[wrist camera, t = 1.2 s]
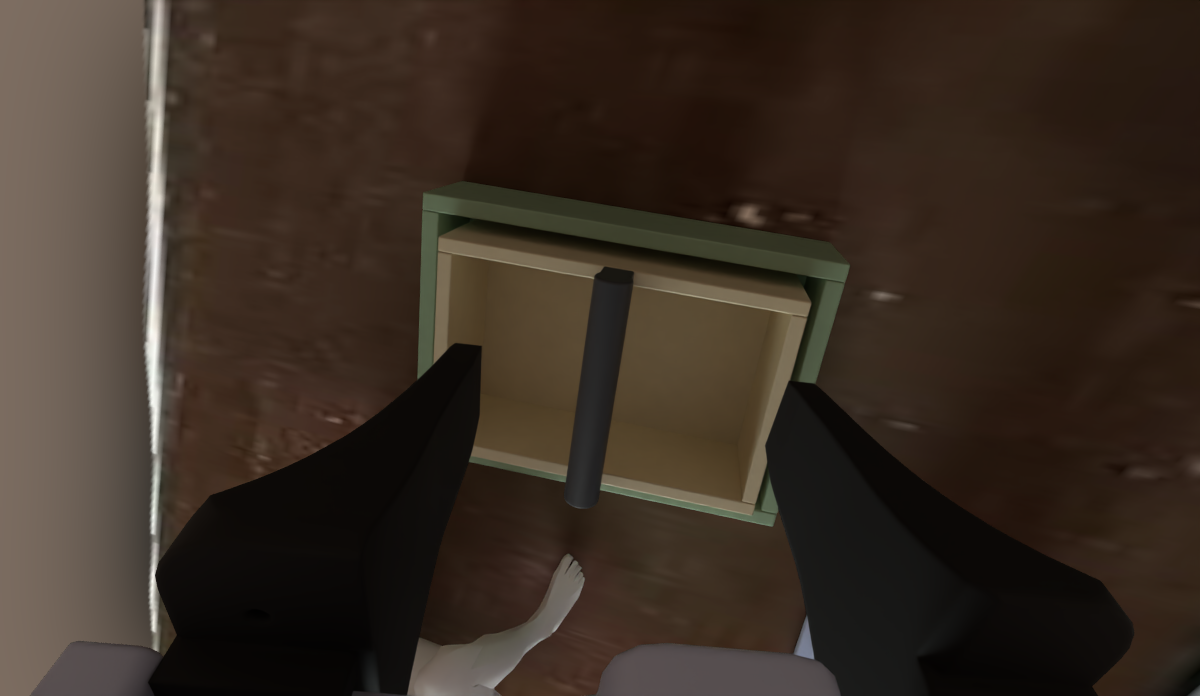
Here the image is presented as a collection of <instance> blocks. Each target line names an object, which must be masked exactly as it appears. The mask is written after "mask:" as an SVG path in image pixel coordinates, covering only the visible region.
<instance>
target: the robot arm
mask: <svg viewBox="0 0 1200 696" xmlns="http://www.w3.org/2000/svg"><path fill="white" fill-rule="evenodd" d="M481 358H482V346H479V345H471V344H462V343H454V344H453V345H451V346H450V347H449V348H448V349H447V350H446V351H445V353H444V354H443V355H442V356H441V357H440V358H439V359H438V360H437V361H436V362H435V363H434V364H433V365H432V366H431V367H430V368H429V369H428V370H427V371H426V372H425V373H424V374H423V375H422V376H421V377H420V378H419V379H418V380H417V381H415V382H414V383H413V384H412V385H411V386H410V387H409V388H408V389H407V390H406V391H405V392H403V393H402V394H401V395H400V396H399V397H397V398H396V399H395V400H394V401H393V402H391V403H390V404H389V405H388V406H386V407H385V408H384V409H383V410H382V411H380V412H379V413H378V414H376V415H375V416H374V417H372V418H371V419H370V420H368V421H367V422H365V423H364V424H363V425H361V426H360V427H358V428H357V429H355V430H354V431H352V432H351V433H349V434H348V435H346V436H344V437H343V438H341V439H339V440H337V441H335V442H334V443H332V444H330V445H328V446H326V447H325V448H323V449H321V450H319V451H317V452H316V453H314V454H312V455H310V456H308V457H306V458H304V459H302V460H300V461H298V462H295V463H293V464H291V465H289V466H287V467H285V468H282V469H280V470H278V471H275V472H273V473H271V474H268V475H266V476H263V477H261V478H258V479H256V480H253V481H250V482H247V483H245V484H242V485H239V486H236V487H233V488H231V489H228V490H225V491H222V492H219V493H216V494H213V495H210V497H209V498H208V499H207V500H206V501H205V503H204V504H203V505H202V506H201V507H200V508H199V509H198V510H197V511H196V513H195V514H194V515H193V516H192V517H191V519H190V520H189V521H188V523H187V524H186V525H185V527H184V528H183V529H182V531H181V532H180V534H179V535H178V536H177V538H176V539H175V541H174V542H173V543H172V545H171V546H170V548H169V549H168V550H167V552H166V553H165V555H164V556H163V557H162V559H161V560H160V561H159V563H158V567H157V570H156V574H155V577H156V582H157V587H158V591H159V593H160V595H161V598H162V600H163V603H164V605H165V607H166V610H167V612H168V615H169V617H170V619H171V622H172V624H173V627H174V629H175V631H176V634H177V636H176V638H175V639H174V641H173V643H172V644H171V646H170V647H169V649H168V651H167V652H166V654H165V655H164V657H163V656H162V655H161V654H160V653H159V652H157V651H155V650H153V649H151V648H147V647H142V646H135V645H123V644H110V643H98V642H85V641H76V642H72V643H70V644H69V645H68V647H67V648H66V649H65V650H64V652H63V653H62V654H61V656H60V657H59V658H58V660H57V661H56V662H55V663H54V665H53V666H52V667H51V669H50V670H49V671H48V673H47V674H46V675H45V676H44V678H43V679H42V680H41V682H40V683H39V684H38V686H37V687H36V688H35V690H34V691H33V692H32V693H31V695H30V696H410V695H407V693H408V688H409V683H410V678H411V673H412V668H413V664H414V659H415V654H416V650H417V645H418V640H419V635H420V631H421V626H422V622H423V617H424V613H425V608H426V604H427V599H428V595H429V590H430V586H431V582H432V577H433V573H434V569H435V565H436V560H437V556H438V552H439V548H440V545H441V541H442V538H443V535H444V531H445V528H446V525H447V523H448V520H449V517H450V514H451V511H452V508H453V505H454V503H455V500H456V497H457V494H458V491H459V488H460V486H461V483H462V480H463V477H464V474H465V471H466V468H467V465H468V462H469V459H470V457H471V454H472V450H473V445H474V441H475V436H476V431H477V426H478V421H479V417H480V392H481ZM765 449H766V456H767V464H768V470H769V476H770V482H771V486H772V489H773V493H774V496H775V499H776V503H777V506H778V509H779V512H780V516H781V519H782V522H783V525H784V528H785V532H786V535H787V538H788V541H789V544H790V548H791V551H792V554H793V557H794V560H795V564H796V567H797V571H798V575H799V579H800V583H801V587H802V593H803V598H804V603H805V608H806V613H807V615H806V618H805V621H804V624H803V627H802V630H801V633H800V636H799V639H798V642H797V644H796V647H795V650H794V653H793V654H788V653H777V652H765V651H753V650H742V649H730V648H719V647H707V646H696V645H684V644H672V643H661V644H645V645H639V646H636V647H634V648H632V649H629V650H627V651H624V652H622V653H620V654H618V655H617V656H615V657H614V658H613V659H612V661H611V662H610V663H609V665H608V666H607V667H606V669H605V670H604V671H603V673H602V677H601V681H600V685H599V689H598V692H597V694H596V695H588V696H1098V695H1097V694H1096V692H1095V691H1094V689H1093V687H1092V686H1093V685H1094V684H1095V683H1096V682H1097V681H1098V680H1099V679H1100V678H1101V677H1102V676H1103V675H1104V674H1106V673H1107V672H1108V671H1109V670H1110V669H1111V668H1112V667H1113V666H1114V665H1115V664H1116V663H1117V662H1118V661H1119V660H1120V659H1121V658H1122V657H1123V655H1124V654H1125V653H1126V652H1127V650H1128V649H1129V648H1130V645H1131V642H1132V639H1133V636H1134V629H1133V624H1132V622H1131V620H1130V619H1129V618H1128V616H1127V615H1126V614H1125V612H1124V611H1123V610H1122V608H1121V607H1120V606H1119V604H1118V603H1117V602H1116V600H1115V599H1114V598H1113V596H1112V595H1111V594H1110V592H1109V591H1108V590H1107V588H1106V587H1105V586H1104V584H1103V583H1102V582H1101V581H1100V580H1098V579H1095V578H1093V577H1091V576H1089V575H1087V574H1085V573H1082V572H1080V571H1078V570H1076V569H1074V568H1072V567H1069V566H1067V565H1065V564H1063V563H1061V562H1059V561H1056V560H1054V559H1052V558H1050V557H1048V556H1046V555H1044V554H1042V553H1040V552H1038V551H1036V550H1034V549H1032V548H1030V547H1028V546H1027V545H1025V544H1023V543H1021V542H1019V541H1017V540H1015V539H1013V538H1011V537H1010V536H1008V535H1006V534H1004V533H1003V532H1001V531H999V530H997V529H996V528H994V527H992V526H990V525H989V524H987V523H986V522H984V521H982V520H981V519H979V518H978V517H976V516H974V515H973V514H971V513H969V512H968V511H966V510H965V509H963V508H961V507H960V506H958V505H957V504H955V503H954V502H953V501H951V500H950V499H948V498H947V497H945V496H944V495H942V494H941V493H940V492H938V491H937V490H936V489H934V488H933V487H931V486H930V485H929V484H927V483H926V482H925V481H923V480H922V479H920V478H919V477H918V476H917V475H915V474H914V473H913V472H911V471H910V470H909V469H908V468H907V467H905V466H904V465H903V464H902V463H901V462H899V461H898V460H897V459H896V458H895V457H893V456H892V455H891V454H890V453H889V452H888V451H886V450H885V449H884V448H883V447H882V446H881V445H880V444H879V443H877V442H876V441H875V440H874V439H873V438H872V437H871V436H870V435H869V434H868V433H867V432H865V431H864V430H863V429H862V428H861V427H860V426H859V425H858V424H857V423H856V422H855V421H854V420H853V419H852V418H851V417H850V416H849V415H848V414H847V413H846V412H845V411H843V410H842V409H841V408H840V407H839V406H838V405H837V404H836V403H835V402H834V401H833V400H832V399H831V398H830V397H829V396H828V395H827V394H826V393H825V392H823V391H822V390H821V389H820V388H819V387H818V386H817V385H815V384H814V383H806V382H798V381H788V384H787V386H786V389H785V392H784V395H783V397H782V400H781V403H780V406H779V408H778V411H777V414H776V417H775V419H774V422H773V425H772V428H771V430H770V433H769V436H768V439H767V441H766V444H765Z"/></svg>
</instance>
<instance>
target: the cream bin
mask: <svg viewBox="0 0 1200 696" xmlns="http://www.w3.org/2000/svg"><path fill="white" fill-rule="evenodd" d="M438 251H439V252H438V264H437V289H436V314H435V339H434V363H435V362H436V361H437V360H438V359H439V358H440V357H441V356H442V355H443V354H444V353H445V351H446V350H447V349H448V348H449V347H450V346H451V345H453V344H454V343H462V344H471V345H479V346H482V358H481V392H480V417H479V421H478V426H477V431H476V436H475V441H474V445H473V450H472V454H471V456H474V457H478V458H483V459H488V460H492V461H497V462H502V463H506V464H511V465H516V466H521V467H525V468H530V469H535V470H539V471H544V472H549V473H553V474H558V475H563V476H567V477H566V484H565V491H564V498H565V500H566V502H567V503H568V504H570V505H571V506H573V507H576V508H582V509H585V508H591V507H593V506H594V505H596V503H597V502H598V499H599V493H600V486H601V484H605V485H610V486H615V487H619V488H624V489H629V490H633V491H638V492H643V493H648V494H652V495H657V496H662V497H666V498H671V499H676V500H680V501H685V502H690V503H695V504H699V505H704V506H709V507H713V508H718V509H723V510H727V511H732V512H737V513H742V514H746V515H753V512H754V508H755V503H756V501H757V498H758V494H759V490H760V487H761V483H762V480H763V476H764V472H765V469H766V465H767V456H766V449H765V444H766V441H767V439H768V436H769V433H770V430H771V428H772V425H773V422H774V419H775V417H776V414H777V411H778V408H779V406H780V403H781V400H782V397H783V395H784V392H785V389H786V386H787V384H788V381H790V379H791V375H792V372H793V368H794V364H795V361H796V357H797V354H798V350H799V346H800V343H801V339H802V336H803V332H804V328H805V325H806V321H807V316H808V314H809V310H810V307H811V301H810V299H809V297H808V295H807V293H806V291H805V290H804V288H803V286H802V284H801V282H800V280H799V278H798V276H797V274H793V273H788V272H782V271H776V270H770V269H764V268H759V267H753V266H747V265H741V264H735V263H730V262H724V261H718V260H712V259H706V258H701V257H695V256H689V255H683V254H677V253H672V252H666V251H660V250H654V249H648V248H643V247H637V246H631V245H625V244H619V243H614V242H608V241H602V240H596V239H591V238H585V237H579V236H573V235H567V234H562V233H556V232H550V231H544V230H538V229H533V228H527V227H521V226H515V225H509V224H504V223H498V222H492V221H486V220H480V219H475V220H473V221H471V222H469V223H467V224H465V225H463V226H460V227H458V228H456V229H454V230H452V231H450V232H448V233H446V234H443V235H441V236H439V239H438Z"/></svg>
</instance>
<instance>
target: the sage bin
mask: <svg viewBox="0 0 1200 696" xmlns="http://www.w3.org/2000/svg"><path fill="white" fill-rule="evenodd" d="M423 209H424V210H423V212H422V245H421V279H420V312H419V346H418V379H419V378H420V377H421V376H422V375H423V374H424V373H425V372H426V371H427V370H428V369H429V368H430V367H431V366H432V365H433V364H434V339H435V314H436V289H437V264H438V252H439V251H438V239H439V236H441V235H443V234H446V233H448V232H450V231H452V230H454V229H456V228H458V227H460V226H463V225H465V224H467V223H469V222H471V221H473V220H475V219H480V220H486V221H492V222H498V223H504V224H509V225H515V226H521V227H527V228H533V229H538V230H544V231H550V232H556V233H562V234H567V235H573V236H579V237H585V238H591V239H596V240H602V241H608V242H614V243H619V244H625V245H631V246H637V247H643V248H648V249H654V250H660V251H666V252H672V253H677V254H683V255H689V256H695V257H701V258H706V259H712V260H718V261H724V262H730V263H735V264H741V265H747V266H753V267H759V268H764V269H770V270H776V271H782V272H788V273H793V274H797V276H798V278H799V280H800V282H801V284H802V286H803V288H804V290H805V291H806V293H807V295H808V297H809V299H810V301H811V307H810V310H809V314H808V316H807V321H806V325H805V328H804V332H803V336H802V339H801V343H800V346H799V350H798V354H797V357H796V361H795V364H794V368H793V372H792V375H791V379H790V381H798V382H806V383H814V384H815V383H816V380H817V376H818V373H819V370H820V366H821V363H822V359H823V356H824V353H825V349H826V346H827V342H828V339H829V336H830V332H831V329H832V326H833V322H834V319H835V315H836V312H837V309H838V305H839V302H840V298H841V295H842V292H843V288H844V285H845V283H844V282H845V281H846V278H847V275H848V272H849V268H850V264H849V263H848V262H847V261H846V260H845V259H844V257H843V256H842V255H841V254H840V253H839V252H838V251H837V250H836V249H835V247H834V246H833V245H832V244H831V243H830V242H825V241H819V240H813V239H807V238H801V237H795V236H789V235H783V234H777V233H771V232H765V231H759V230H753V229H747V228H741V227H735V226H729V225H723V224H717V223H711V222H705V221H699V220H693V219H687V218H681V217H675V216H669V215H663V214H657V213H651V212H645V211H639V210H633V209H627V208H621V207H615V206H609V205H603V204H597V203H591V202H585V201H579V200H573V199H567V198H561V197H555V196H549V195H543V194H537V193H531V192H525V191H519V190H513V189H507V188H501V187H495V186H489V185H483V184H477V183H471V182H465V181H461V182H458V183H454V184H451V185H447V186H444V187H440V188H437V189H433V190H430V191H427V192H423ZM418 379H417V380H418ZM469 462H473V463H477V464H482V465H487V466H491V467H496V468H501V469H505V470H510V471H515V472H520V473H524V474H529V475H534V476H538V477H543V478H548V479H552V480H557V481H562V482H566V477H567V476H563V475H558V474H553V473H549V472H544V471H539V470H535V469H530V468H525V467H521V466H516V465H511V464H506V463H502V462H497V461H492V460H488V459H483V458H478V457H474V456H471V457H470V459H469ZM600 490H604V491H608V492H613V493H618V494H622V495H627V496H632V497H637V498H641V499H646V500H651V501H655V502H660V503H665V504H669V505H674V506H679V507H683V508H688V509H693V510H697V511H702V512H707V513H711V514H716V515H721V516H725V517H730V518H735V519H739V520H744V521H749V522H753V523H758V524H763V525H768V526H773V525H774V522H775V518H776V513H777V512H778V506H777V503H776V499H775V496H774V493H773V489H772V486H771V482H770V476H769V470H768V464H767V465H766V469H765V472H764V476H763V480H762V483H761V487H760V490H759V494H758V498H757V501H756V503H755V508H754V512H753V515H746V514H742V513H737V512H732V511H727V510H723V509H718V508H713V507H709V506H704V505H699V504H695V503H690V502H685V501H680V500H676V499H671V498H666V497H662V496H657V495H652V494H648V493H643V492H638V491H633V490H629V489H624V488H619V487H615V486H610V485H605V484H601V486H600Z"/></svg>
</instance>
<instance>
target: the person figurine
mask: <svg viewBox="0 0 1200 696" xmlns="http://www.w3.org/2000/svg"><path fill="white" fill-rule="evenodd" d="M572 560H573V557H572V556H571V555H570V554H567V555H565V556H563V558H562V560H561V562H560V564H559V566H558V568H557V569H556V571H555V572H554V574H553V577H552V579H551V582H550V585H549V588H548V590H547V593H546V595H545V597H544V599H543V601H542V603H541V605H540V606H539V608H538V610H537V611H536V612H535V613H534V614H533V615H532V616H531V617H530V618H529V620H528V621H527V622H525V623H523V624H521V625H519V626H517V627H514V628H511V629H508V630H505V631H503V632H500V633H495V634H484V635H483V636H481V637H480V638H478V639H477V640H475V641H474V642H472V643H470V644H457V645H444V646H441V645H438V644H436V643H433V642H431V641H428V640H425V639H423V638H420V637H419V640H418V645H417V650H416V654H415V659H414V664H413V668H412V673H411V678H410V683H409V688H408V693H407V695H410V696H501V695H500V694H499V693H498V692H497V691H495V690H494V687H495V686H496V685H497V684H498V683H499V682H500V681H501V680H503V679H504V678H505V677H506V676H507V675H508V674H509V673H510V672H511V671H512V670H513V669H514V668H515V666H516V665H517V664H518V662H519V661H520V660H521V658H522V657H523V655H524V654H525V653H526V652H527V651H529V650H530V649H531V648H532V647H533V646H535V645H536V644H537V643H538V642H540V641H542V640H544V639H545V638H547V637H549V636H551V634H552V633H553V632H555V631H556V629H557V628H558V627H559V625H560V624H561V622H562V621H563V619H564V618H565V616H566V615H567V613H568V612H569V611H570V609H571V608H572V606H573V605H574V603H575V602H576V600H577V599H578V597H579V595H580V592H581V589H582V587H583V584H584V580H585V578H584V577H583V573H582V572H579V571H580V570H581V569H582V568H581V567H580V566H579V565H578V562H577V561H573V563H572V565H571V566H570V564H571V562H572ZM577 565H578V566H577ZM569 566H570V567H569ZM568 567H569V568H568ZM575 568H576V569H575ZM578 572H579V574H578ZM577 574H578V575H577Z"/></svg>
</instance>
